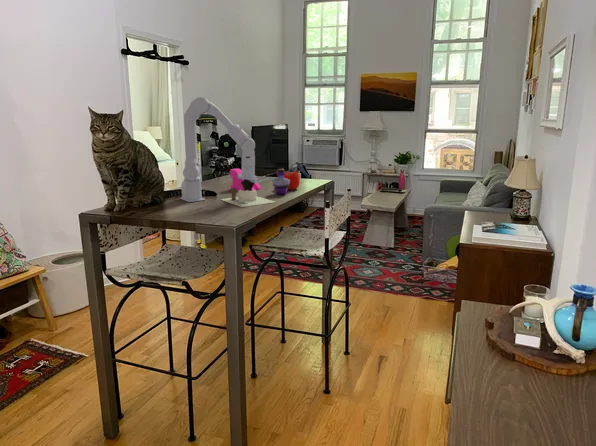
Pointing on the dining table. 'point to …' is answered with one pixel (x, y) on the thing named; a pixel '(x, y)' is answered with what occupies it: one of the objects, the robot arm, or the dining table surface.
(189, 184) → the robot arm
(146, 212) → the dining table surface
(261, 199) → the card
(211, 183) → the dining table surface
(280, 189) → the potion bottle
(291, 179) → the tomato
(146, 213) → the dining table surface
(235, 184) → the bracket
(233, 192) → the fence post
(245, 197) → the fence panel
